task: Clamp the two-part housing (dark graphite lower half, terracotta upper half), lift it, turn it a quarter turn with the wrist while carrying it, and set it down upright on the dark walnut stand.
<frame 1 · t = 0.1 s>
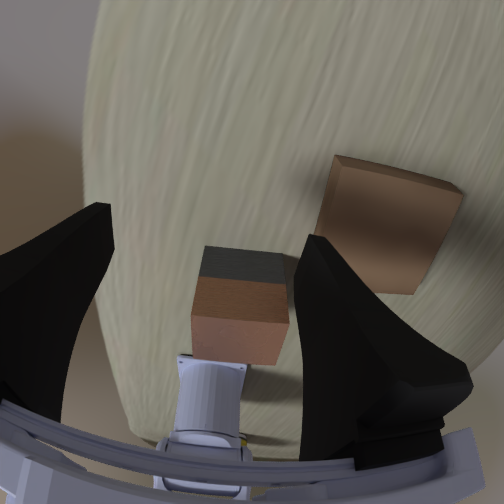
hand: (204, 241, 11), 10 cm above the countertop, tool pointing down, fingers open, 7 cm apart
walnut stand: (378, 227, 22), on the countertop
housing: (240, 273, 25), on the countertop
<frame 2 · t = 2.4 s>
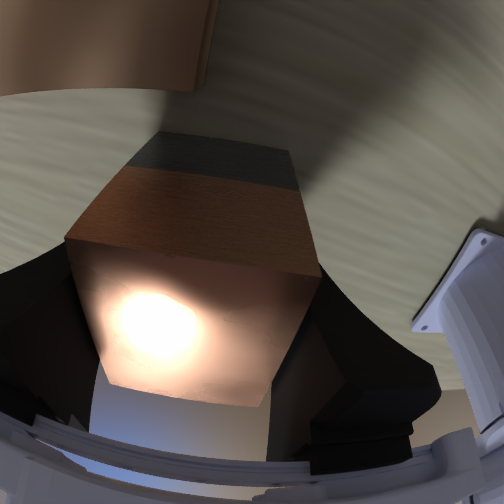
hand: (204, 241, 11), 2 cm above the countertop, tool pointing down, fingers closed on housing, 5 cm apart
housing: (212, 207, 13), on the countertop, touching gripper
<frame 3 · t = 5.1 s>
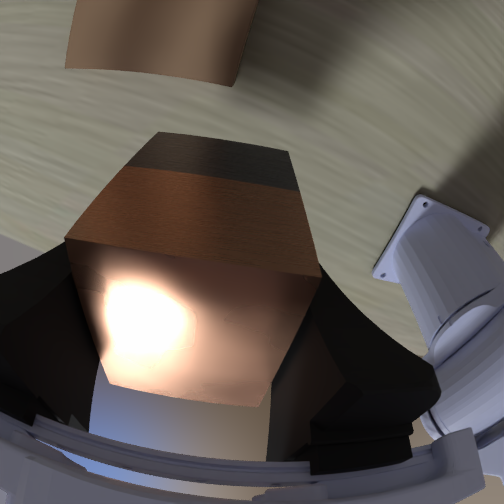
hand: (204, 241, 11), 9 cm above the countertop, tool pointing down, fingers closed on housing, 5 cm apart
housing: (212, 207, 13), point 7 cm above the countertop, touching gripper
when the fingers open (6 cm above the countertop, at t = 8.0 s): housing drops 1 cm, resting on walnut stand.
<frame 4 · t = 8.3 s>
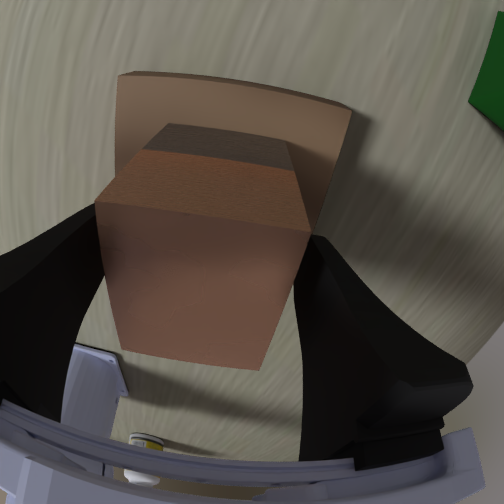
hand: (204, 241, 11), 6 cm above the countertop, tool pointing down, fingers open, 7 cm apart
walnut stand: (220, 174, 15), on the countertop
housing: (216, 191, 14), point 2 cm above the countertop, touching walnut stand
supplement bottle: (147, 437, 44), on the countertop
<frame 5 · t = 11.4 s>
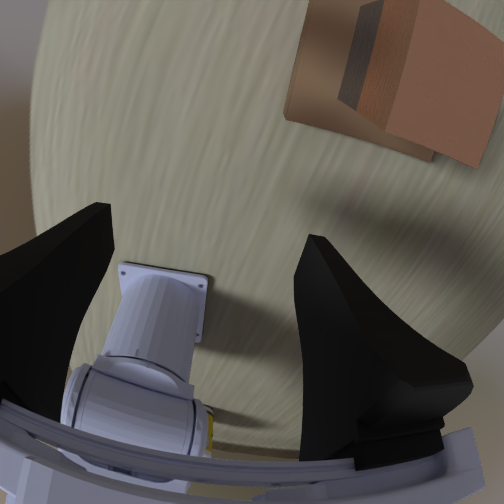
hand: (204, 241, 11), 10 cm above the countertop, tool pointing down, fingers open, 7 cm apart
walnut stand: (376, 62, 15), on the countertop
housing: (389, 65, 13), point 2 cm above the countertop, touching walnut stand
supplement bottle: (195, 408, 44), on the countertop
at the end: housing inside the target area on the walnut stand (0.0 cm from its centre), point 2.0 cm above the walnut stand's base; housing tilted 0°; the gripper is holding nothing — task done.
